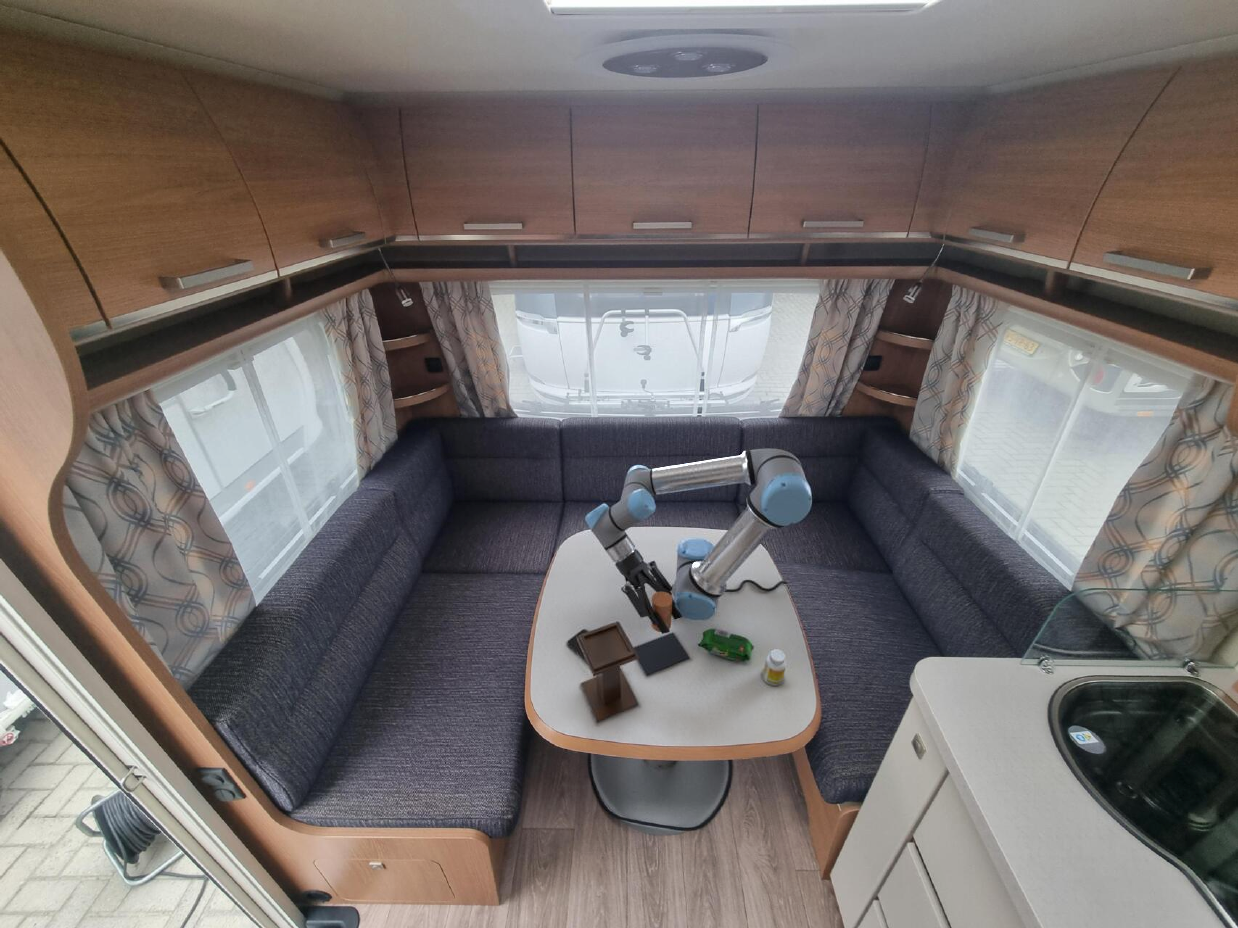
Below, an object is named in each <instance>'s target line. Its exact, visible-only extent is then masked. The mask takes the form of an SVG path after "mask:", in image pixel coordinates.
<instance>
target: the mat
mask: <svg viewBox="0 0 1238 928" xmlns="http://www.w3.org/2000/svg"><path fill="white" fill-rule="evenodd" d="M633 648H634V649H635V651H636V653H637V655H638V659H637V661H638V663H639V665H640V666H641V668H642V670H643V672H644V674H645V676H646V677H648V676H651V675H653V674H656V673H658V672H661V671H662V670H663V671H664V670H665V669H668V668H670V667H673V666H675V665H678V664H680V663H683V662H686V661H687V660H690V656H689V654H688V653H687V651H686V650H685V649H684V647H683V645H682V644H681V643H680V641H679V639H678V638H677V636H676V635H675V633H674V632H669V633H667V634H665V635H663V636H660V637H658V638H655V639H652V640H649V641H647V642H645V643H642V644H639V645H636V646H633Z"/></svg>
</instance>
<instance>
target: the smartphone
mask: <svg viewBox="0 0 1238 928" xmlns="http://www.w3.org/2000/svg"><path fill="white" fill-rule="evenodd" d="M589 631H590V630H588V629H586V628H583V629H582V630H580V631H579V632H577V633H576V634H575V635H573V636H572V637H571V638H570V639H568V640H567V641H566V645H567V646H568V647H569V648H570V649H571V650H573V651H574V653H576V654H577V655H578V656H579V657H580V658H581V659H582V660H583V661H585V662H586V663H587V661H586V659H585V657H584V654H583V652H582V650H581V648H580V645H579V643H578V641H577V637H578V636H579V635H580V634H583V633H586V632H589Z"/></svg>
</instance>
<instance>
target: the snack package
mask: <svg viewBox="0 0 1238 928" xmlns="http://www.w3.org/2000/svg"><path fill="white" fill-rule="evenodd" d="M697 647H699V648H704V649H705V651H707V652H708V653H711V654H713V655H715V656H719V657H721V658H725V659H728V660H732V661H736V662H743V663H744V662H748V661H750V660H751V657H752V651H754V648H755V646H754V645H753V643H752V642H751V640H750V639H748V638H747V637H746V636H742V635H740V634H736V633H732V632H729V631H726V630H722V629H717V628H708V629H706V630H704V631H703V632H702V638H701V640H700V642H698V643H697Z"/></svg>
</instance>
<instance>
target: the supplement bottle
mask: <svg viewBox="0 0 1238 928" xmlns="http://www.w3.org/2000/svg"><path fill="white" fill-rule="evenodd" d="M786 668H787V661H786V654H785V653H784V651H782V650H780V649H778V648H776V649H775V648H774V649H771V650H770V653H769V654H768V655H767V656H766V658H765V661H764V667H763V671H762V678H763V680H764V681H765V682H766V683H767V684H768V685H771V686H778V685H780V684H782V683H783V680H784V676H785V672H786Z"/></svg>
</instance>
